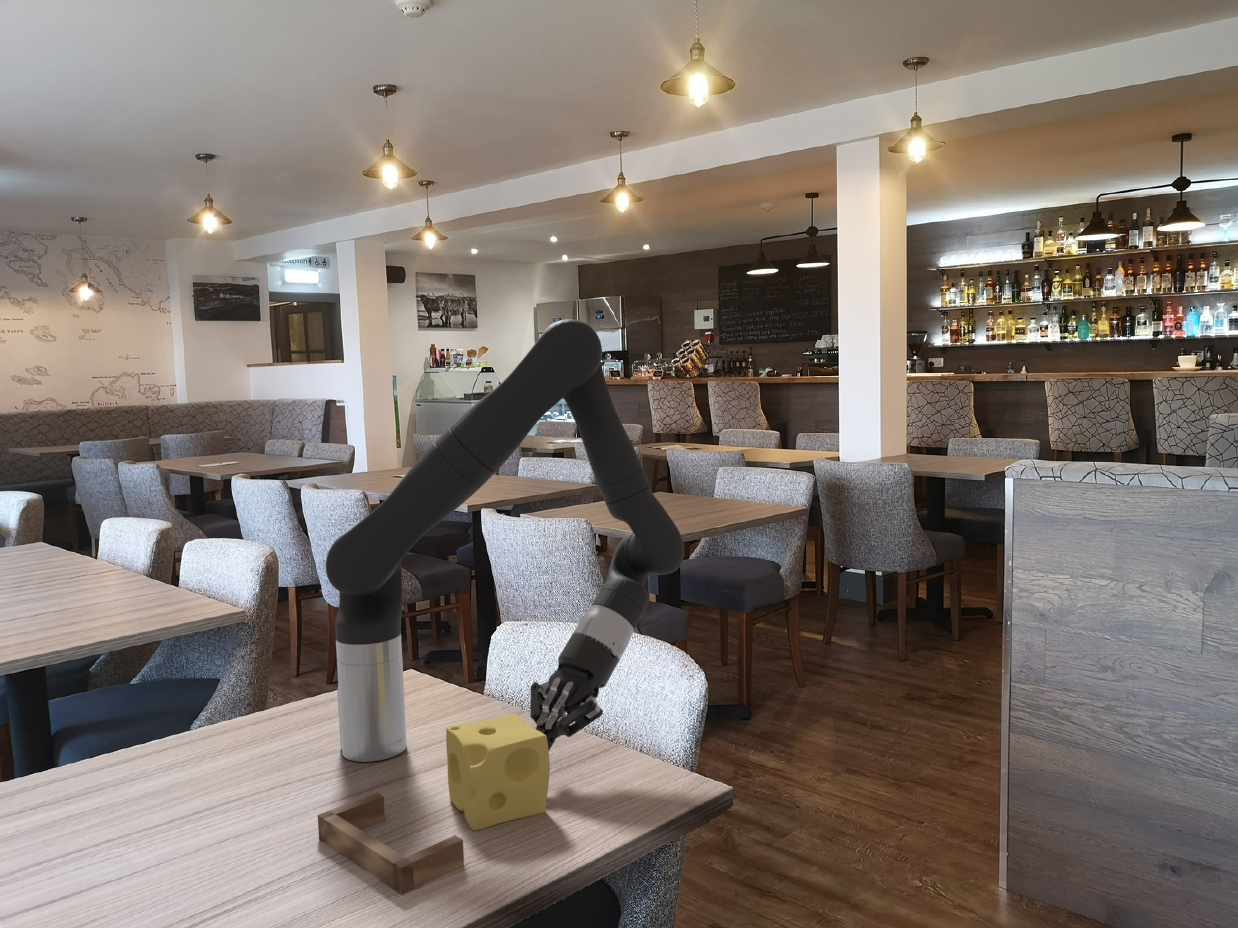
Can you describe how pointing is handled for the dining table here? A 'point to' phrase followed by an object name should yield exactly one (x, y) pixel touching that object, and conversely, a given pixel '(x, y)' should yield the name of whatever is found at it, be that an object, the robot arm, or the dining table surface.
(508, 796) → the cheese
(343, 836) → the walnut cradle
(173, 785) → the dining table surface
